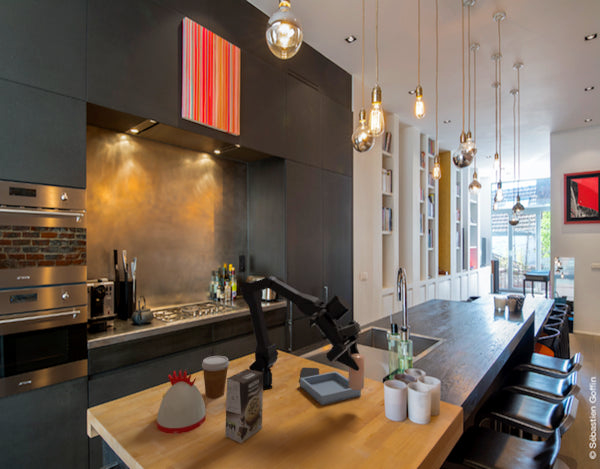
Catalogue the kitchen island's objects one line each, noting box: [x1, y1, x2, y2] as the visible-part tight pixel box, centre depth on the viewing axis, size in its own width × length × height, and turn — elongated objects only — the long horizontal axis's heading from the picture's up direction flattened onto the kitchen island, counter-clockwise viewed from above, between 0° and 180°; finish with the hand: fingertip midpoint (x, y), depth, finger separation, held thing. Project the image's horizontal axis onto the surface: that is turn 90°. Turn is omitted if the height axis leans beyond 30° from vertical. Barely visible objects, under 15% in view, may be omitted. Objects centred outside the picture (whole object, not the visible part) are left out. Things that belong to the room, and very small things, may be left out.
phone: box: [298, 367, 320, 384], centre depth 136 cm, size 7×1×15 cm
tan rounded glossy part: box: [348, 353, 366, 391], centre depth 111 cm, size 5×5×10 cm
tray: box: [299, 371, 362, 406], centre depth 123 cm, size 16×16×3 cm
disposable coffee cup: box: [201, 355, 230, 399], centre depth 119 cm, size 10×10×12 cm
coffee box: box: [224, 368, 264, 444], centre depth 96 cm, size 9×6×16 cm
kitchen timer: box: [156, 369, 207, 435], centre depth 102 cm, size 14×14×15 cm
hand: (360, 367), depth 110 cm, fingers closed on tan rounded glossy part, 5 cm apart
